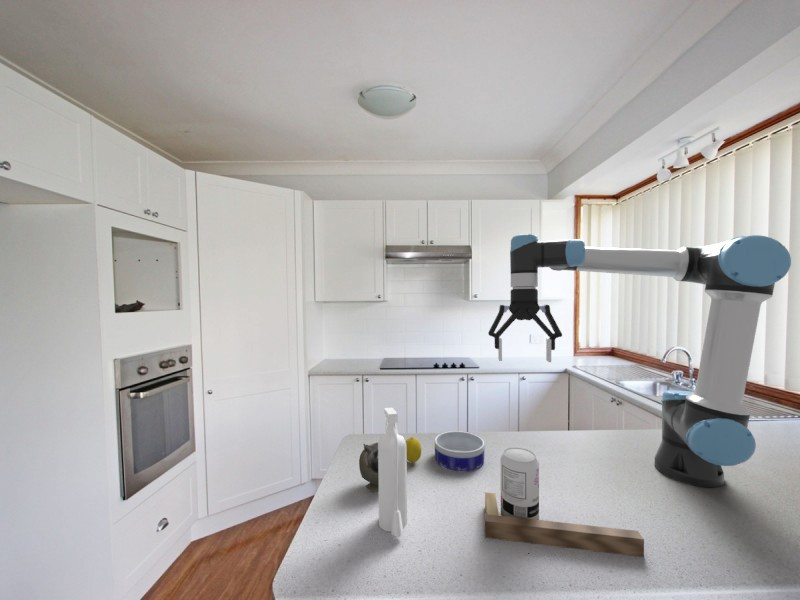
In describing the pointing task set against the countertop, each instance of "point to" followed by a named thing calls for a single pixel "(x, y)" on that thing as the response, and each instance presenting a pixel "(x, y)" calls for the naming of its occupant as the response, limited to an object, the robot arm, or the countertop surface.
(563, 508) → the countertop surface
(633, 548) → the walnut fence
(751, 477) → the countertop surface
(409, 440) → the lemon
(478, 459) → the dog bowl
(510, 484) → the supplement can
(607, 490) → the countertop surface
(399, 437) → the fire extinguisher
